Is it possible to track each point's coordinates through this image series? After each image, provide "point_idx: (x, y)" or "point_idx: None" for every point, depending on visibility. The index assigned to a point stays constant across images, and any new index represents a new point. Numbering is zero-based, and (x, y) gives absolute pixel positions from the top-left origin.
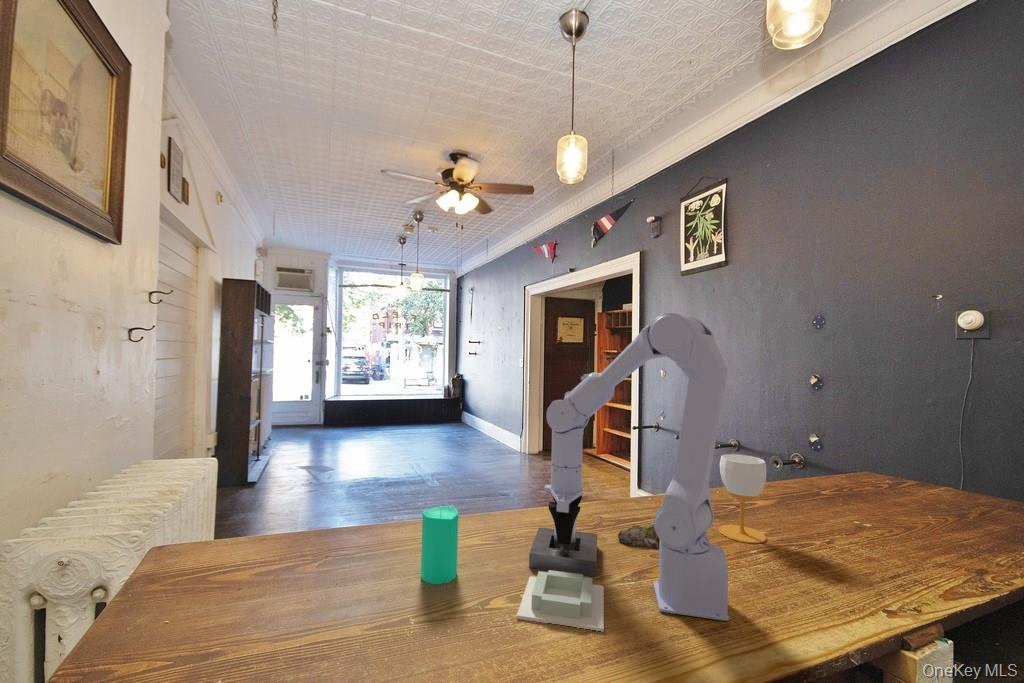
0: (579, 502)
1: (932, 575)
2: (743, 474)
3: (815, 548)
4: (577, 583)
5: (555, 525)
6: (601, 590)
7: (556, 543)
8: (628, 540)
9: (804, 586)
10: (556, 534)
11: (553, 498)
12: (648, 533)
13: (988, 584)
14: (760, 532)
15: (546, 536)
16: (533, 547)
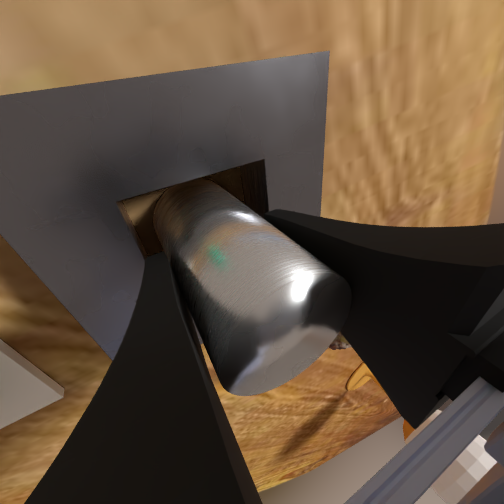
0: (383, 387)
1: (312, 457)
2: (440, 484)
3: (342, 411)
4: None
5: (127, 332)
6: (26, 411)
7: (174, 225)
8: None
9: (264, 453)
10: (142, 279)
11: (460, 267)
12: (342, 338)
13: (308, 469)
14: (369, 378)
15: (241, 136)
16: (38, 108)
